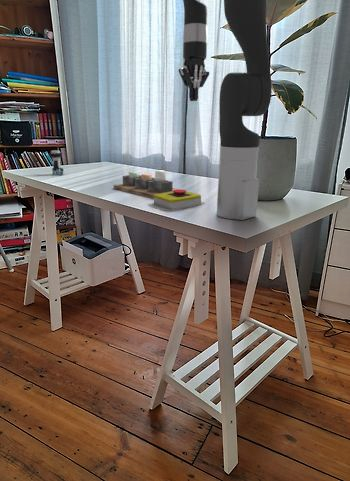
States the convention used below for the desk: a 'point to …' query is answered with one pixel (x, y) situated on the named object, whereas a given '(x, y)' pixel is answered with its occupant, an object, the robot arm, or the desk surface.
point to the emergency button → (176, 200)
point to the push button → (56, 162)
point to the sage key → (133, 174)
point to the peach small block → (146, 176)
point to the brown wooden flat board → (144, 186)
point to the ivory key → (160, 176)
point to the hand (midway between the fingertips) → (193, 100)
